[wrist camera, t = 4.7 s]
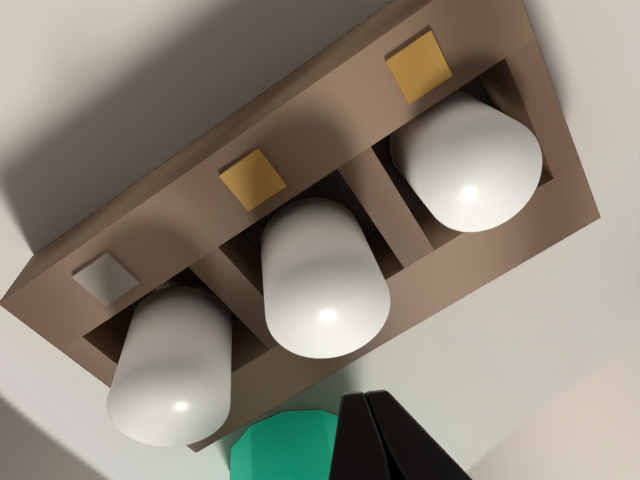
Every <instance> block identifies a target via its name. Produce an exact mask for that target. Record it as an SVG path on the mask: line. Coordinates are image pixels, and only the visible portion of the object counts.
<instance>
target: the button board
mask: <svg viewBox="0 0 640 480" xmlns="http://www.w3.org/2000/svg"><path fill="white" fill-rule="evenodd" d="M477 76H478V77H479V79H480V81H481V83H482V86H483V88H484V90H485V92H486V95H487V97H488V99H489V101H490V104H491V106H492V108H494V109H496V110H498V111H500V112H501V113H503V114H505V115H507V116H509V117H511V118H512V119H514V120H516V121H518V122H520V123H521V124H523V125H524V126H526V127H527V128H528V129H529V130H530V131H531V132H532V133H533V134H534V136H535V137H536V139H537V141H538V143H539V146H540V149H541V153H542V171H541V176H540V180H539V182H538V185H537V187H536V189H535V191H534V193H533V195H532V196H531V198H530V199H529V201H528V202H527V203H526V205H525V206H524V207H523V208H522V209H521V210H520V211H519V212H518V213H517V214H516V215H514V216H513V217H512V218H510V219H509V220H507V221H506V222H504V223H502V224H501V225H499V226H496V227H494V228H491V229H488V230H484V231H479V232H462V231H457V230H454V229H451V228H449V227H447V226H445V225H443V224H442V223H441V222H439V221H438V220H437V219H436V218H435V217H434V215H433V214H432V213H431V212H430V210H429V209H428V208H427V206H426V205H425V204H422V205H421V206H419V207H418V208H416V209H414V210H413V211H411V212H410V210H409V208H408V207H407V205H406V203H405V202H404V200H403V199H402V197H401V195H400V194H399V192H398V190H397V189H396V187H395V186H394V184H393V182H392V181H391V179H390V177H389V176H388V174H387V173H386V171H385V169H384V168H383V166H382V164H381V163H380V161H379V159H378V158H377V156H376V155H375V153H374V151H373V150H372V148H371V146H372V145H374V144H375V143H377V142H378V141H380V140H381V139H383V138H384V137H386V136H387V135H389V134H390V133H392V132H393V131H395V130H396V129H398V128H399V127H401V126H402V125H404V124H406V123H407V122H409V121H410V120H412V119H413V118H415V117H416V116H418V115H419V114H421V113H422V112H424V111H425V110H427V109H428V108H430V107H431V106H433V105H434V104H436V103H437V102H439V101H440V100H442V99H443V98H445V97H446V96H448V95H450V94H451V93H453V92H454V91H456V90H457V89H459V88H460V87H462V86H463V85H465V84H466V83H468V82H469V81H471V80H472V79H474V78H475V77H477ZM336 169H338V170H339V172H340V173H341V175H342V176H343V178H344V179H345V181H346V182H347V184H348V185H349V187H350V188H351V190H352V191H353V193H354V194H355V196H356V197H357V199H358V200H359V202H360V203H361V205H362V206H363V208H364V209H365V211H366V212H367V213H368V215H369V216H370V218H371V219H372V221H373V222H374V224H375V225H376V227H377V228H378V230H379V232H378V233H376V234H374V235H373V236H371V237H370V238H368V239H366V241H367V243H368V245H369V247H370V249H371V251H372V253H373V256H374V258H375V260H376V262H377V264H378V266H379V269H380V271H381V273H382V275H383V277H384V279H385V281H386V284H387V286H388V289H389V293H390V302H391V303H390V310H389V314H388V317H387V319H386V322H385V323H384V325H383V327H382V328H381V330H380V331H379V332H378V334H377V335H376V336H375V337H374V338H373V339H372V340H370V341H369V342H368V343H367V344H365V345H364V346H362V347H361V348H359V349H357V350H355V351H353V352H351V353H348V354H345V355H342V356H338V357H333V358H309V357H304V356H300V355H297V354H295V353H293V352H291V351H289V350H287V349H285V348H284V347H282V346H281V345H280V344H279V343H278V342H277V341H276V340H275V339H274V337H273V336H272V334H271V333H270V331H269V329H268V326H267V323H266V317H265V304H264V290H263V276H262V263H261V253H260V252H259V251H258V250H257V249H256V248H255V246H254V245H253V244H252V243H251V242H250V241H249V239H248V238H247V237H246V236H245V235H244V234H243V232H242V231H243V230H245V229H246V228H248V227H249V226H251V225H252V224H254V223H255V222H257V221H258V220H260V219H261V218H263V217H264V216H266V215H267V214H269V213H270V212H272V211H273V210H275V209H276V208H278V207H280V206H281V205H283V204H284V203H286V202H287V201H289V200H290V199H292V198H293V197H295V196H296V195H298V194H299V193H301V192H302V191H304V190H305V189H307V188H308V187H310V186H311V185H313V184H314V183H316V182H317V181H319V180H320V179H322V178H324V177H325V176H327V175H328V174H330V173H331V172H333V171H334V170H336ZM599 218H601V217H600V214H599V212H598V209H597V206H596V203H595V200H594V198H593V195H592V192H591V189H590V187H589V184H588V181H587V178H586V176H585V173H584V170H583V167H582V165H581V162H580V159H579V156H578V154H577V151H576V148H575V145H574V143H573V140H572V137H571V134H570V132H569V129H568V126H567V123H566V121H565V118H564V115H563V112H562V110H561V107H560V104H559V101H558V99H557V96H556V93H555V90H554V87H553V85H552V82H551V79H550V76H549V74H548V71H547V68H546V65H545V63H544V60H543V57H542V54H541V52H540V49H539V46H538V43H537V41H536V38H535V35H534V32H533V30H532V27H531V24H530V21H529V19H528V16H527V13H526V10H525V8H524V5H523V2H522V0H394V1H392V2H391V3H389V4H388V5H387V6H385V7H384V8H382V9H381V10H379V11H378V12H377V13H375V14H374V15H372V16H371V17H370V18H368V19H367V20H365V21H364V22H363V23H361V24H360V25H358V26H357V27H355V28H354V29H353V30H351V31H350V32H348V33H347V34H346V35H344V36H343V37H341V38H340V39H339V40H337V41H336V42H334V43H333V44H331V45H330V46H329V47H327V48H326V49H324V50H323V51H322V52H320V53H319V54H317V55H316V56H315V57H313V58H312V59H310V60H309V61H307V62H306V63H305V64H303V65H302V66H300V67H299V68H298V69H296V70H295V71H293V72H292V73H290V74H289V75H288V76H286V77H285V78H283V79H282V80H281V81H279V82H278V83H276V84H275V85H274V86H272V87H271V88H269V89H268V90H266V91H265V92H264V93H262V94H261V95H259V96H258V97H257V98H255V99H254V100H252V101H251V102H250V103H248V104H247V105H245V106H244V107H242V108H241V109H240V110H238V111H237V112H235V113H234V114H233V115H231V116H230V117H228V118H227V119H226V120H224V121H223V122H221V123H220V124H218V125H217V126H216V127H214V128H213V129H211V130H210V131H209V132H207V133H206V134H204V135H203V136H201V137H200V138H199V139H197V140H196V141H194V142H193V143H192V144H190V145H189V146H187V147H186V148H185V149H183V150H182V151H180V152H179V153H177V154H176V155H175V156H173V157H172V158H170V159H169V160H168V161H166V162H165V163H163V164H162V165H161V166H159V167H158V168H156V169H155V170H153V171H152V172H151V173H149V174H148V175H146V176H145V177H144V178H142V179H141V180H139V181H138V182H137V183H135V184H134V185H132V186H131V187H129V188H128V189H127V190H125V191H124V192H122V193H121V194H120V195H118V196H117V197H115V198H114V199H112V200H111V201H110V202H108V203H107V204H105V205H104V206H103V207H101V208H100V209H98V210H97V211H96V212H94V213H93V214H91V215H90V216H88V217H87V218H86V219H84V220H83V221H81V222H80V223H79V224H77V225H76V226H74V227H73V228H72V229H70V230H69V231H67V232H66V233H64V234H63V235H62V236H60V237H59V238H57V239H56V240H55V241H53V242H52V243H50V244H49V245H47V246H46V247H45V248H43V249H42V250H40V251H39V252H38V253H36V254H35V255H33V256H32V258H31V259H30V261H29V262H28V263H27V265H26V266H25V268H24V269H23V270H22V272H21V273H20V274H19V276H18V277H17V279H16V280H15V281H14V283H13V284H12V285H11V287H10V288H9V290H8V291H7V292H6V294H5V295H4V297H3V298H2V299H1V301H0V305H1V306H2V307H3V308H5V309H6V310H7V311H9V312H10V313H11V314H13V315H14V316H15V317H17V318H18V319H19V320H21V321H22V322H23V323H25V324H26V325H27V326H29V327H30V328H31V329H33V330H34V331H35V332H37V333H38V334H39V335H41V336H42V337H43V338H45V339H46V340H47V341H48V342H50V343H51V344H52V345H54V346H55V347H56V348H58V349H59V350H60V351H62V352H63V353H64V354H66V355H67V356H68V357H70V358H71V359H72V360H74V361H75V362H76V363H78V364H79V365H80V366H82V367H83V368H84V369H86V370H87V371H88V372H90V373H91V374H92V375H94V376H95V377H96V378H98V379H99V380H100V381H102V382H103V383H104V384H106V385H107V386H108V387H110V388H111V385H112V382H113V378H114V375H115V372H116V369H117V366H118V362H119V359H120V356H121V353H122V349H123V346H124V343H125V340H126V336H127V333H128V330H129V327H130V323H131V320H132V317H133V314H134V313H132V312H131V311H130V310H129V309H128V308H127V307H128V306H129V305H131V304H132V303H134V302H135V301H137V300H138V299H140V298H141V297H143V296H144V295H146V294H147V293H149V292H150V291H152V290H154V289H155V288H157V287H158V286H160V285H161V284H163V283H164V282H166V281H167V280H169V279H170V278H172V277H173V276H175V275H176V274H178V273H179V272H181V271H182V270H184V269H185V268H187V267H189V268H190V269H191V270H192V271H193V272H194V273H195V274H196V275H197V276H198V277H199V278H200V279H201V280H202V281H203V282H204V283H205V284H206V285H207V286H208V287H209V288H210V289H211V290H212V291H213V292H214V293H215V294H216V295H217V296H218V297H219V298H220V299H221V300H222V301H223V302H224V303H225V304H226V306H227V307H228V308H229V309H230V310H231V311H232V312H233V313H234V314H235V315H236V316H237V317H238V318H239V319H238V320H237V321H235V322H233V323H232V355H231V400H230V411H229V414H228V416H227V419H226V420H225V422H224V423H223V425H222V426H221V427H220V428H219V429H218V430H217V431H216V432H214V433H213V434H212V435H210V436H209V437H207V438H205V439H203V440H201V441H198V442H195V443H192V444H189V445H187V446H188V447H189V448H191V449H192V450H193V451H194V452H198V451H200V450H202V449H203V448H205V447H207V446H208V445H210V444H212V443H214V442H215V441H217V440H219V439H220V438H222V437H224V436H226V435H227V434H229V433H231V432H232V431H234V430H236V429H238V428H239V427H241V426H243V425H245V424H246V423H248V422H250V421H251V420H253V419H255V418H257V417H258V416H260V415H262V414H263V413H265V412H267V411H269V410H270V409H272V408H274V407H276V406H277V405H279V404H281V403H282V402H284V401H286V400H288V399H289V398H291V397H293V396H294V395H296V394H298V393H300V392H301V391H303V390H305V389H306V388H308V387H310V386H312V385H313V384H315V383H317V382H319V381H320V380H322V379H324V378H325V377H327V376H329V375H331V374H332V373H334V372H336V371H337V370H339V369H341V368H343V367H344V366H346V365H348V364H349V363H351V362H353V361H355V360H356V359H358V358H360V357H362V356H363V355H365V354H367V353H368V352H370V351H372V350H374V349H375V348H377V347H379V346H380V345H382V344H384V343H386V342H387V341H389V340H391V339H392V338H394V337H396V336H398V335H399V334H401V333H403V332H405V331H406V330H408V329H410V328H411V327H413V326H415V325H417V324H418V323H420V322H422V321H423V320H425V319H427V318H429V317H430V316H432V315H434V314H435V313H437V312H439V311H441V310H442V309H444V308H446V307H448V306H449V305H451V304H453V303H454V302H456V301H458V300H460V299H461V298H463V297H465V296H466V295H468V294H470V293H472V292H473V291H475V290H477V289H478V288H480V287H482V286H484V285H485V284H487V283H489V282H491V281H492V280H494V279H496V278H497V277H499V276H501V275H503V274H504V273H506V272H508V271H509V270H511V269H513V268H515V267H516V266H518V265H520V264H521V263H523V262H525V261H527V260H528V259H530V258H532V257H534V256H535V255H537V254H539V253H540V252H542V251H544V250H546V249H547V248H549V247H551V246H552V245H554V244H556V243H558V242H559V241H561V240H563V239H564V238H566V237H568V236H570V235H571V234H573V233H575V232H577V231H578V230H580V229H582V228H583V227H585V226H587V225H589V224H590V223H592V222H594V221H595V220H597V219H599Z"/></svg>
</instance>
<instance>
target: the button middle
mask: <svg viewBox="0 0 640 480" xmlns="http://www.w3.org/2000/svg"><path fill="white" fill-rule="evenodd" d="M260 248H261V263H262V276H263V290H264V304H265V317H266V323H267V326H268V329H269V331H270V333H271V334H272V336H273V337H274V339H275V340H276V341H277V342H278V343H279V344H280V345H281V346H282V347H284V348H285V349H287V350H289V351H291V352H293V353H295V354H297V355H300V356H304V357H309V358H333V357H338V356H342V355H345V354H348V353H351V352H353V351H355V350H357V349H359V348H361V347H362V346H364V345H365V344H367V343H368V342H369V341H370V340H372V339H373V338H374V337H375V336H376V335H377V334H378V332H379V331H380V330H381V328H382V327H383V325H384V323H385V322H386V319H387V317H388V314H389V310H390V303H391V302H390V293H389V289H388V286H387V284H386V281H385V279H384V277H383V275H382V273H381V271H380V269H379V266H378V264H377V262H376V260H375V258H374V256H373V253H372V251H371V249H370V247H369V245H368V243H367V241H366V238H365V236H364V234H363V232H362V230H361V228H360V226H359V223H358V221H357V220H356V218H355V216H354V215H353V214H352V213H351V212H350V211H349V210H348V209H347V208H346V207H344V206H343V205H341V204H339V203H337V202H335V201H332V200H330V199H325V198H316V197H315V198H304V199H300V200H296V201H293V202H291V203H289V204H287V205H285V206H283V207H282V208H281V209H279V210H278V211H277V212H276V213H275V214H274V215H273V216H272V217H271V218H270V219H269V221H268V222H267V224H266V225H265V227H264V230H263V232H262V236H261V242H260Z"/></svg>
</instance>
